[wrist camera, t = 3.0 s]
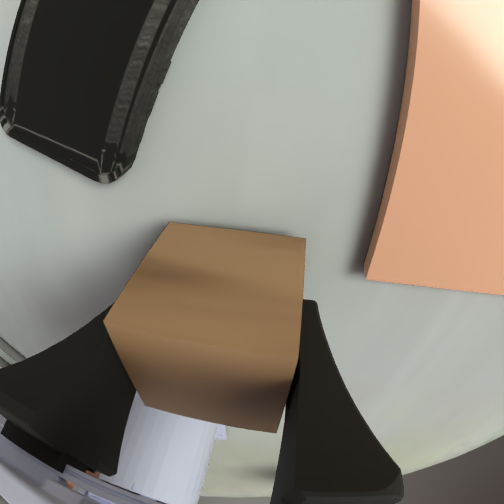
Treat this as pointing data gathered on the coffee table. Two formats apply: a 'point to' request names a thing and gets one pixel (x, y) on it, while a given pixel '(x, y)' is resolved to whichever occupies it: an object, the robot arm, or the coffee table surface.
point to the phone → (88, 78)
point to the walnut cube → (213, 324)
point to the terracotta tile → (447, 155)
